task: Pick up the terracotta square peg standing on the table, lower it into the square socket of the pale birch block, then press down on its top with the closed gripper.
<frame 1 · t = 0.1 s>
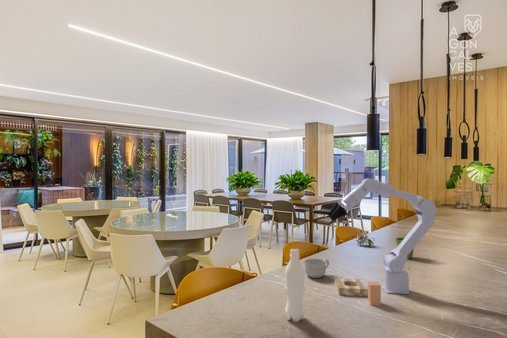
hand: (330, 217, 145), 32 cm above the table, tool tilted 50°, fingers open, 7 cm apart
water bottle: (294, 319, 116), on the table
teacup: (317, 276, 162), on the table
plant pot: (405, 257, 195), on the table
terracotta peg: (374, 303, 129), on the table
birch socket block: (350, 290, 142), on the table
passion flower: (364, 245, 226), on the table
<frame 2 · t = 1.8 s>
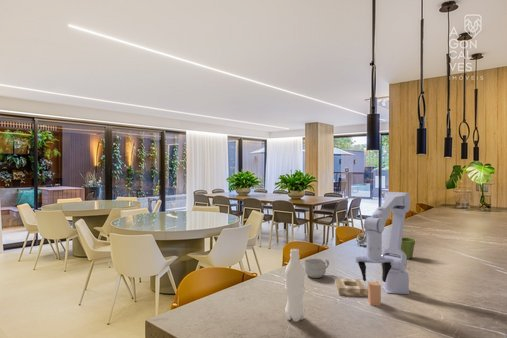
hand: (374, 280, 129), 9 cm above the table, tool pointing down, fingers open, 7 cm apart
nothing on the table moved.
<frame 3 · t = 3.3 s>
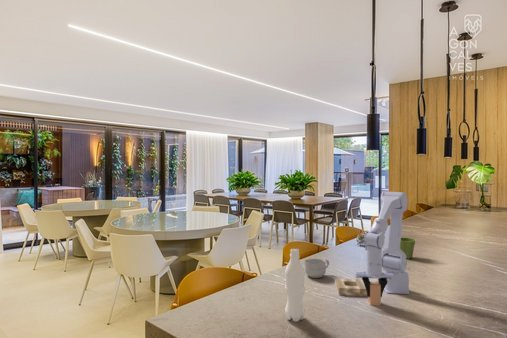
hand: (374, 296, 129), 3 cm above the table, tool pointing down, fingers closed on terracotta peg, 4 cm apart
terracotta peg: (374, 303, 129), on the table, touching gripper
everything else where it was.
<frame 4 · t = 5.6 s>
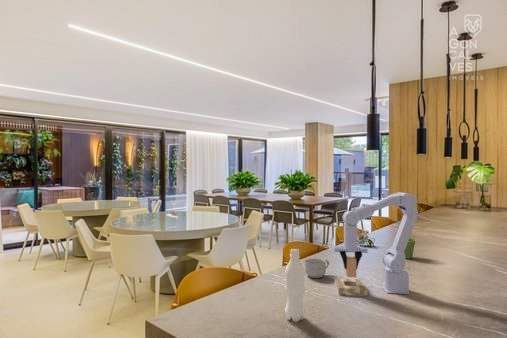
hand: (350, 268, 142), 10 cm above the table, tool pointing down, fingers closed on terracotta peg, 4 cm apart
terracotta peg: (350, 275, 142), point 7 cm above the table, touching gripper
everything else where it was.
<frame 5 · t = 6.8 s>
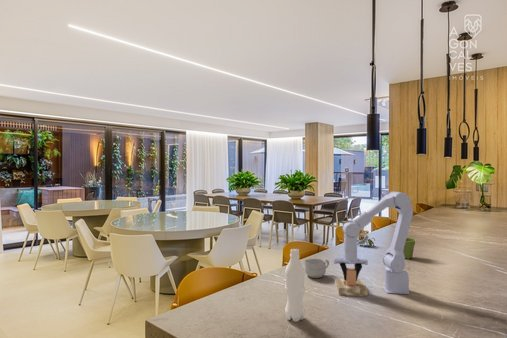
hand: (350, 280, 143), 5 cm above the table, tool pointing down, fingers closed on terracotta peg, 4 cm apart
terracotta peg: (350, 287, 142), point 2 cm above the table, touching gripper
everything else where it was.
when the fingers open (4 cm above the table, at t = 7.8 s): terracotta peg stays where it is, resting on birch socket block.
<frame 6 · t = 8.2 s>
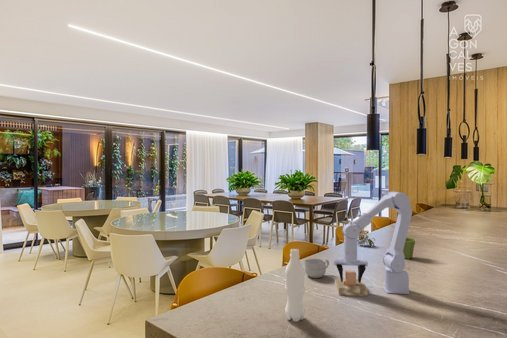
hand: (350, 281, 143), 4 cm above the table, tool pointing down, fingers open, 7 cm apart
terracotta peg: (350, 290, 142), resting on birch socket block
everything else where it was.
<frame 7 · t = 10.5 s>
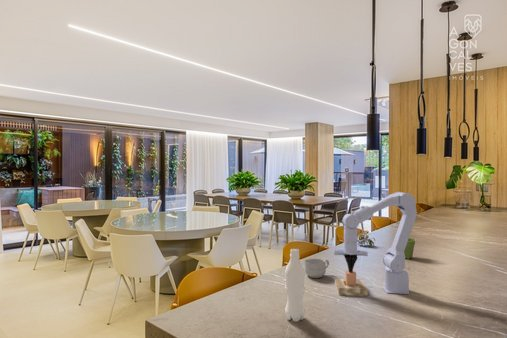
hand: (350, 271, 143), 8 cm above the table, tool pointing down, fingers closed
nothing on the table moved.
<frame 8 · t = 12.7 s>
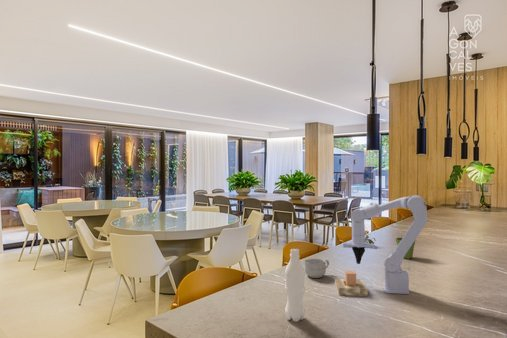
hand: (358, 263, 150), 10 cm above the table, tool pointing down, fingers closed
nothing on the table moved.
at the end: terracotta peg 0.3 cm off-centre on the birch socket block, point 0.2 cm above the birch socket block's base; terracotta peg tilted 0°; the gripper is holding nothing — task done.
